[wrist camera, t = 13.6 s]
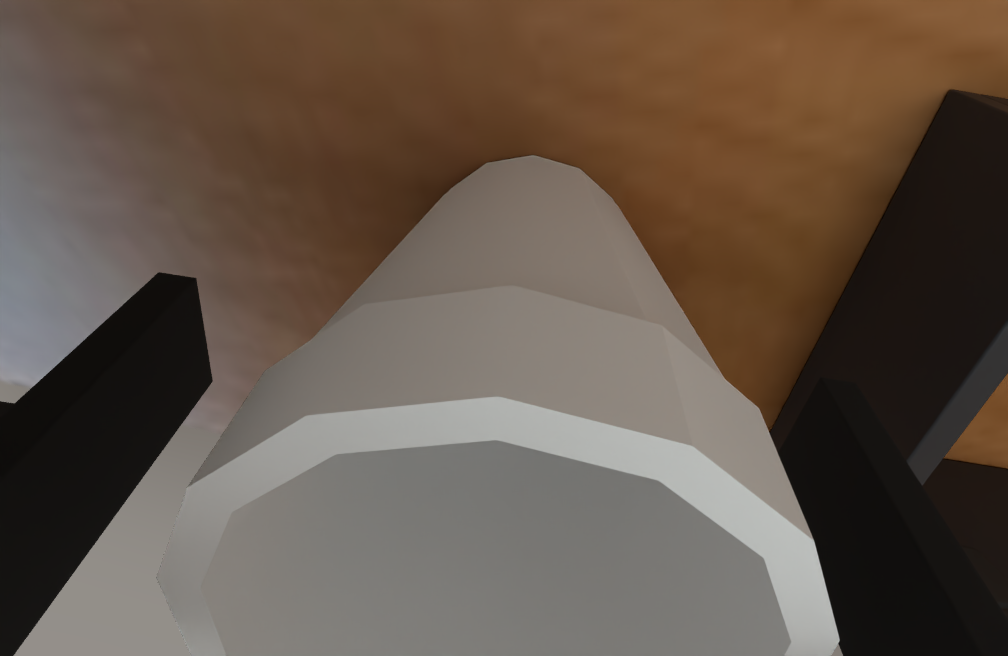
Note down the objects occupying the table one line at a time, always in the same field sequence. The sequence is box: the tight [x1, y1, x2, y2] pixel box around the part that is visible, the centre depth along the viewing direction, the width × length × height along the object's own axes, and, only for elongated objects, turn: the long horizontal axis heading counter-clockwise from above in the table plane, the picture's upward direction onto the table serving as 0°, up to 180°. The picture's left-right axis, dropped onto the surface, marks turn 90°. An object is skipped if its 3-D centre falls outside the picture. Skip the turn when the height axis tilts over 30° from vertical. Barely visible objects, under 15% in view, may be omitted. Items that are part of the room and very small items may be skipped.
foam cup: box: [156, 155, 840, 656], centre depth 14 cm, size 10×9×13 cm
